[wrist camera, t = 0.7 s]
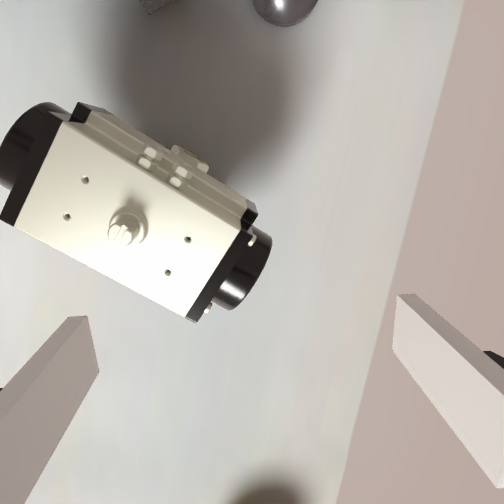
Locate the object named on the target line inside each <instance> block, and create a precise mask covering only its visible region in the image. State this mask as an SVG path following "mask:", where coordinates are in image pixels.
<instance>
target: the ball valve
mask: <svg viewBox="0 0 504 504" xmlns="http://www.w3.org/2000/svg"><path fill="white" fill-rule="evenodd" d="M208 170H209V166H208V164H207V163H206V162H204V161H203V160H202V159H200V158H199V157H197V156H196V155H194V154H192V153H191V152H189V151H187V150H186V149H184V148H182V147H180V146H178V145H173V146H172V148H171V150H169V149H167V148H165V147H164V146H162V145H161V144H159V143H158V142H156V141H154V140H153V139H151V138H150V137H148V136H146V135H145V134H143V133H142V132H140V131H138V130H137V129H135V128H134V127H132V126H131V125H129V124H127V123H126V122H124V121H123V120H121V119H119V118H118V117H116V116H115V115H113V114H111V113H110V112H108V111H107V110H105V109H103V108H99V107H95V106H92V105H88V104H84V103H80V102H78V103H77V105H76V107H75V109H74V111H73V113H72V114H71V113H69V112H67V111H66V110H64V109H63V108H61V107H59V106H58V105H56V104H54V103H51V102H44V103H40V104H38V105H35V106H34V107H32V108H30V109H29V110H27V111H26V112H25V113H24V114H23V115H22V116H21V117H20V118H19V119H18V120H17V121H16V122H15V123H14V124H13V126H12V127H11V128H10V130H9V131H8V133H7V134H6V136H5V138H4V140H3V142H2V144H1V146H0V184H1V185H2V186H3V187H5V188H7V189H9V190H10V191H11V192H10V194H9V197H8V199H7V201H6V203H5V206H4V208H3V210H2V212H1V214H0V220H2V221H4V222H6V223H7V224H9V225H11V226H13V227H15V228H17V229H19V230H21V231H23V232H24V233H26V234H28V235H30V236H32V237H34V238H36V239H38V240H39V241H41V242H43V243H45V244H47V245H49V246H51V247H53V248H55V249H56V250H58V251H60V252H62V253H64V254H66V255H68V256H70V257H72V258H73V259H75V260H77V261H79V262H81V263H83V264H85V265H87V266H89V267H90V268H92V269H94V270H96V271H98V272H100V273H102V274H104V275H106V276H107V277H109V278H111V279H113V280H115V281H117V282H119V283H121V284H122V285H124V286H126V287H128V288H130V289H132V290H134V291H136V292H138V293H139V294H141V295H143V296H145V297H147V298H149V299H151V300H153V301H155V302H156V303H158V304H160V305H162V306H164V307H166V308H168V309H170V310H172V311H173V312H175V313H177V314H179V315H181V316H183V317H185V318H187V319H188V320H190V321H192V322H194V323H197V322H198V320H199V319H200V317H201V316H202V314H203V313H205V314H207V313H208V312H209V310H210V309H211V306H212V303H211V301H212V302H214V303H216V304H218V305H219V306H221V307H223V308H225V309H227V310H232V309H234V308H235V307H237V306H238V305H239V304H240V303H241V302H242V301H243V300H244V298H245V297H246V296H247V294H248V293H249V292H250V290H251V289H252V287H253V286H254V284H255V283H256V281H257V279H258V278H259V276H260V274H261V272H262V270H263V268H264V266H265V264H266V262H267V259H268V257H269V254H270V251H271V248H272V238H271V236H269V235H267V234H266V233H264V232H263V231H261V230H259V229H258V228H256V227H254V226H253V225H252V224H253V222H254V221H255V219H256V218H257V216H258V212H257V209H256V206H255V204H254V203H253V202H251V201H250V200H248V199H246V198H245V197H243V196H242V195H240V194H238V193H237V192H235V191H234V190H232V189H231V188H229V187H227V186H226V185H224V184H223V183H221V182H219V181H218V180H216V179H215V178H213V177H211V176H210V175H208V174H207V171H208Z"/></svg>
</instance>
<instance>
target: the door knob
mask: <svg viewBox="0 0 504 504" xmlns="http://www.w3.org/2000/svg"><path fill="white" fill-rule="evenodd" d="M317 1H318V0H252V2H253V5H254V7H255V9H256V10H257V12H258V13H259V14H260V15H261V17H262V18H264V19H265V20H266V21H268V22H269V23H271V24H273V25H276V26H282V27H287V26H292V25H295V24H298V23H300V22H301V21H303V20H304V19H305V18H306V17H307V16H308V15H309V14H310V13H311V11H312V10H313V8H314V7H315V5H316V3H317Z"/></svg>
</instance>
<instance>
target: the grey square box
mask: <svg viewBox="0 0 504 504" xmlns="http://www.w3.org/2000/svg"><path fill="white" fill-rule="evenodd" d="M140 1H141V3H142V4H143V6H144V7H145V9H146V10H147V12H148V13H149V14H151V13H153V12H154V11H156V10H158V9H159V8H161V7H163V6H164V5H166V4H168V3H169V2H171V1H173V0H140Z"/></svg>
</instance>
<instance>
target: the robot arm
mask: <svg viewBox="0 0 504 504" xmlns="http://www.w3.org/2000/svg"><path fill="white" fill-rule="evenodd" d="M392 351H393V352H394V353H395V355H396V356H397V357H398V358H399V360H400V361H401V362H402V364H403V365H404V366H405V368H406V369H407V370H408V372H409V373H410V374H411V376H412V377H413V378H414V379H415V381H416V382H417V384H418V385H419V386H420V387H421V389H422V390H423V391H424V393H425V394H426V395H427V397H428V398H429V399H430V401H431V402H432V403H433V405H434V406H435V407H436V409H437V410H438V411H439V413H440V414H441V415H442V417H443V418H444V419H445V420H446V422H447V423H448V424H449V426H450V427H451V428H452V430H453V431H454V432H455V434H456V435H457V436H458V438H459V439H460V440H461V442H462V443H463V444H464V446H465V447H466V448H467V449H468V451H469V452H470V453H471V455H472V456H473V457H474V459H475V460H476V461H477V463H478V464H479V465H480V467H481V468H482V469H483V471H484V472H485V473H486V475H487V476H488V477H489V479H490V480H491V481H492V482H493V484H494V485H495V487H496V488H504V358H503V357H501V356H499V355H497V354H495V353H493V352H491V351H481V350H480V349H479V348H478V347H477V346H476V345H474V344H473V343H472V342H471V341H470V340H469V339H467V338H466V337H465V336H464V335H463V334H462V333H460V332H459V331H458V330H457V329H456V328H454V327H453V326H452V325H451V324H450V323H449V322H447V321H446V320H445V319H444V318H443V317H442V316H440V315H439V314H438V313H437V312H435V311H434V310H433V309H432V308H431V307H430V306H429V305H427V304H426V303H425V302H424V301H423V300H421V299H420V298H419V297H418V296H417V295H416V294H402V295H397V302H396V314H395V325H394V337H393V347H392ZM98 373H99V368H98V364H97V359H96V354H95V350H94V345H93V340H92V336H91V331H90V326H89V322H88V317H87V316H75V317H68V318H67V319H66V320H65V321H64V322H63V323H62V325H61V326H60V327H59V328H58V329H57V330H56V331H55V332H54V333H53V334H52V335H51V337H50V338H49V339H48V340H47V341H46V342H45V343H44V344H43V345H42V346H41V348H40V349H39V350H38V351H37V352H36V353H35V354H34V355H33V356H32V357H31V358H30V360H29V361H28V362H27V363H26V364H25V365H24V366H23V367H22V368H21V369H20V370H19V372H18V373H17V374H16V375H15V376H14V377H13V378H12V379H11V380H10V381H9V382H8V384H7V385H6V386H5V387H4V388H0V504H24V503H25V501H26V500H27V498H28V496H29V494H30V493H31V491H32V489H33V487H34V486H35V484H36V482H37V480H38V479H39V477H40V475H41V473H42V471H43V470H44V468H45V466H46V464H47V463H48V461H49V459H50V457H51V456H52V454H53V452H54V450H55V449H56V447H57V445H58V443H59V442H60V440H61V438H62V436H63V435H64V433H65V431H66V429H67V427H68V426H69V424H70V422H71V420H72V419H73V417H74V415H75V413H76V412H77V410H78V408H79V406H80V405H81V403H82V401H83V399H84V398H85V396H86V394H87V392H88V391H89V389H90V387H91V385H92V383H93V382H94V380H95V378H96V376H97V375H98Z"/></svg>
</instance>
